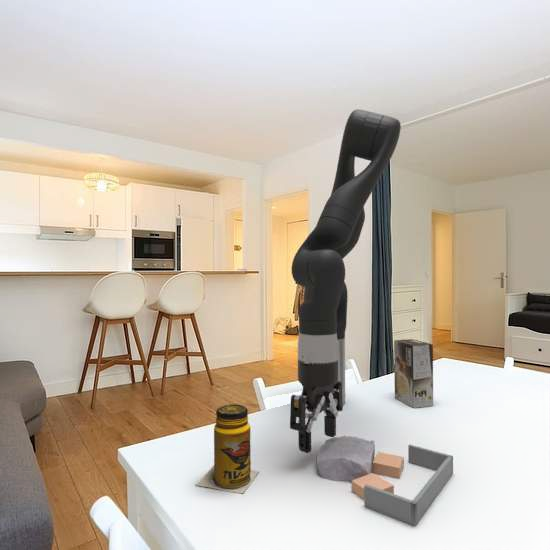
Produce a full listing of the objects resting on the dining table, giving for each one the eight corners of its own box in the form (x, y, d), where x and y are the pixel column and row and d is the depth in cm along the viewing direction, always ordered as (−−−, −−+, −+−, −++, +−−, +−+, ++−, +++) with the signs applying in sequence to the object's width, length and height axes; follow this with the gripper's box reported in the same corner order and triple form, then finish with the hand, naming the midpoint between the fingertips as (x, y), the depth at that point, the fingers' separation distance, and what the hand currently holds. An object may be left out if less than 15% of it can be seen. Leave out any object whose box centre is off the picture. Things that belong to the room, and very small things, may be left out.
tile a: (351, 493, 63) (351, 480, 63) (372, 484, 65) (372, 472, 65) (372, 507, 59) (372, 494, 59) (393, 498, 61) (393, 485, 61)
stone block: (316, 490, 66) (376, 486, 64) (310, 461, 67) (370, 456, 64) (327, 461, 78) (378, 456, 75) (322, 436, 78) (373, 431, 76)
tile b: (372, 473, 68) (372, 462, 68) (378, 462, 72) (378, 451, 72) (399, 479, 66) (399, 468, 66) (403, 468, 70) (403, 456, 70)
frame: (364, 506, 58) (364, 485, 58) (409, 460, 73) (409, 444, 73) (415, 526, 54) (415, 504, 54) (453, 473, 68) (452, 455, 68)
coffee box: (434, 406, 103) (434, 344, 103) (413, 408, 101) (413, 345, 101) (413, 395, 112) (412, 338, 112) (393, 397, 110) (392, 339, 110)
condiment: (243, 494, 62) (242, 417, 62) (194, 486, 64) (194, 412, 64) (259, 472, 69) (258, 403, 69) (214, 465, 71) (214, 398, 71)
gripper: (321, 348, 82) (321, 427, 82) (278, 360, 71) (278, 451, 71) (354, 353, 77) (354, 436, 77) (313, 366, 66) (313, 463, 66)
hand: (318, 443), depth 74 cm, fingers open, 8 cm apart
